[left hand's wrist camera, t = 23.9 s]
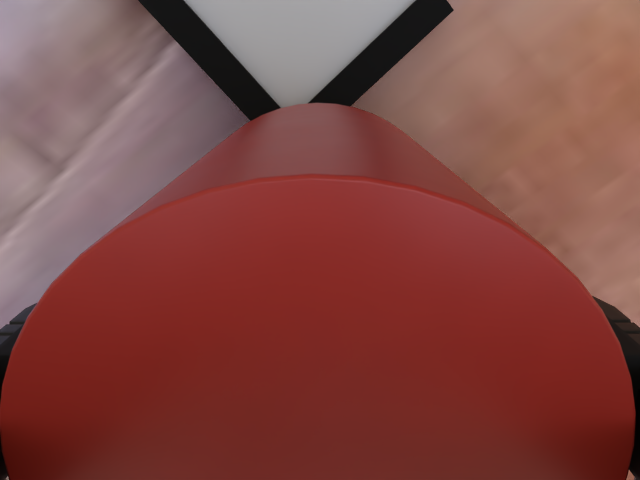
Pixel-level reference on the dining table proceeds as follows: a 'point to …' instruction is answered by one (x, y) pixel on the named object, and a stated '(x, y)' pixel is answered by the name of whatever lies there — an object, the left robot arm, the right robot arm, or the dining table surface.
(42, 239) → the dining table surface
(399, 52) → the decorative sign
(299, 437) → the canister
